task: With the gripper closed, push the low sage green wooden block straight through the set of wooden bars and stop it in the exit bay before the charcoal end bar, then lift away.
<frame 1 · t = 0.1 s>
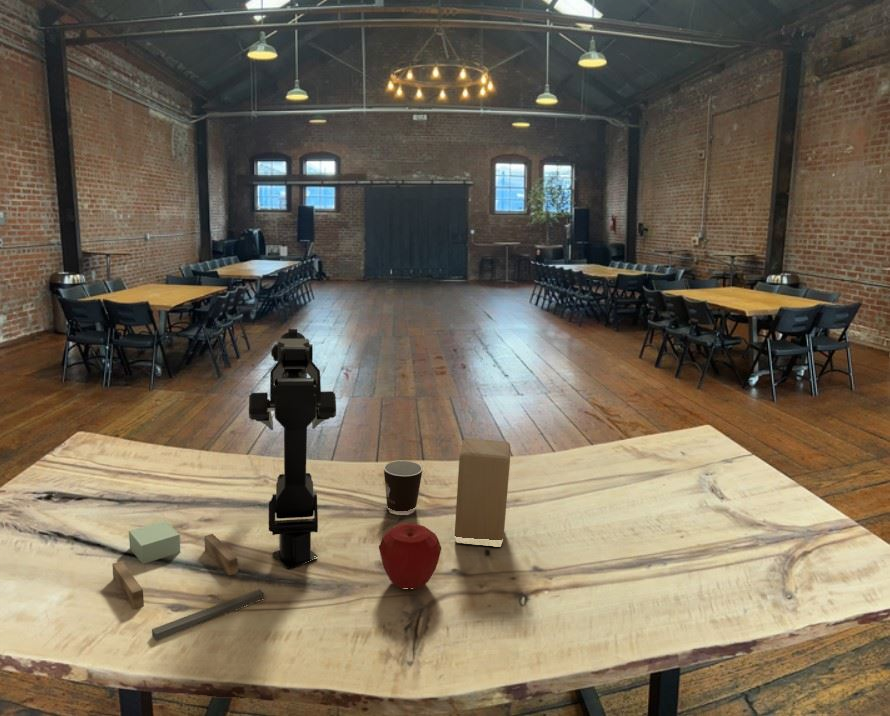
hand: (292, 427, 156), 15 cm above the table, tool tilted 35°, fingers open, 9 cm apart
set of wooden bars: (176, 575, 122), on the table
wooden block: (479, 536, 142), on the table
apple: (408, 584, 123), on the table
sage block: (155, 551, 130), on the table
coffee mug: (402, 507, 153), on the table
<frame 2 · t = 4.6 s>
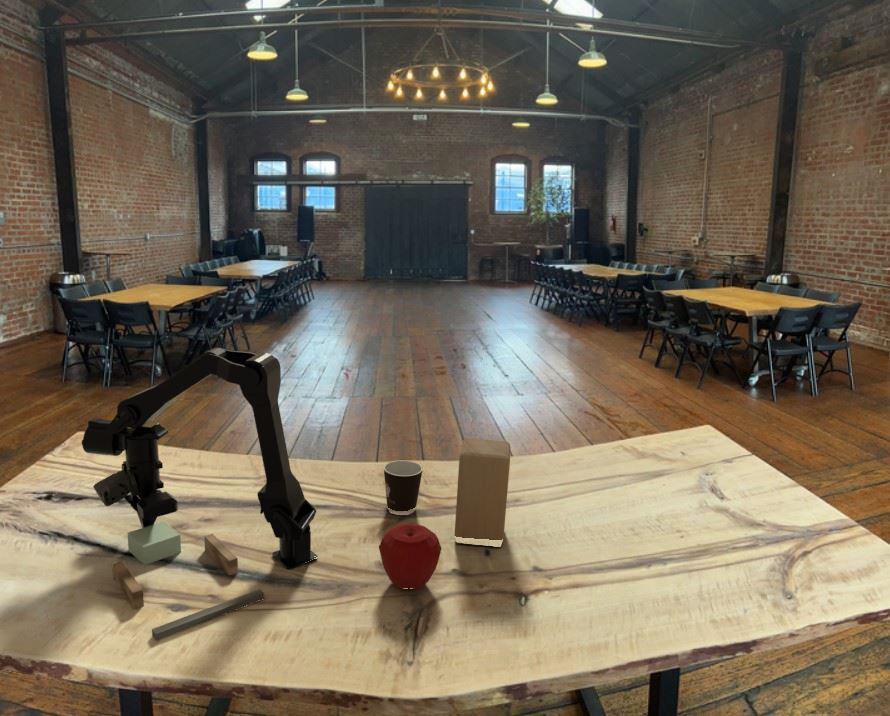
hand: (147, 531, 133), 2 cm above the table, tool pointing down, fingers closed
sage block: (154, 552, 130), on the table, touching gripper
everything else where it was.
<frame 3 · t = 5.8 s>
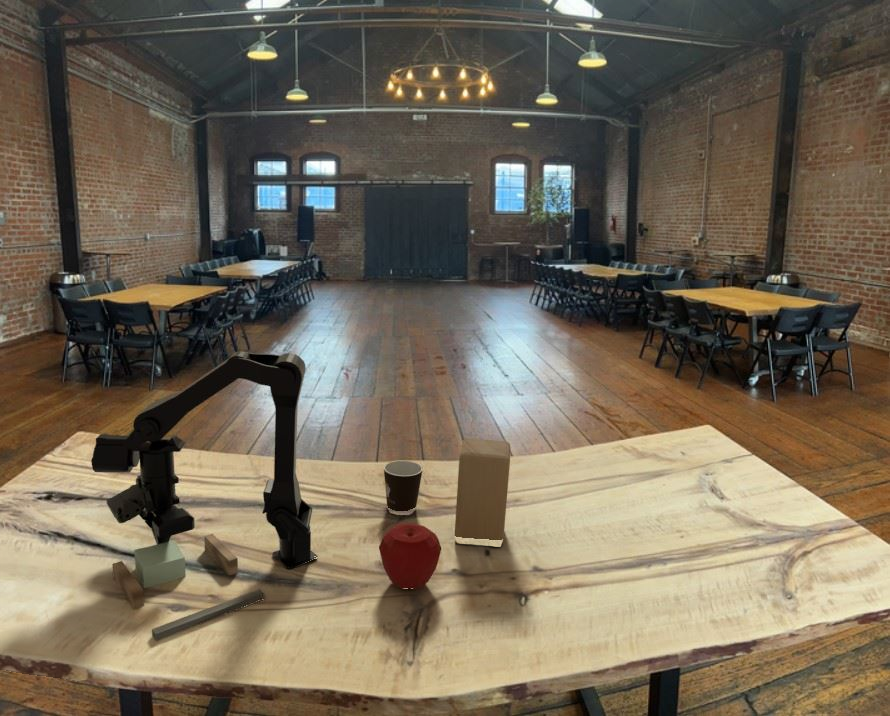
hand: (161, 548, 127), 2 cm above the table, tool pointing down, fingers closed
sage block: (160, 573, 123), on the table, touching gripper
everything else where it was.
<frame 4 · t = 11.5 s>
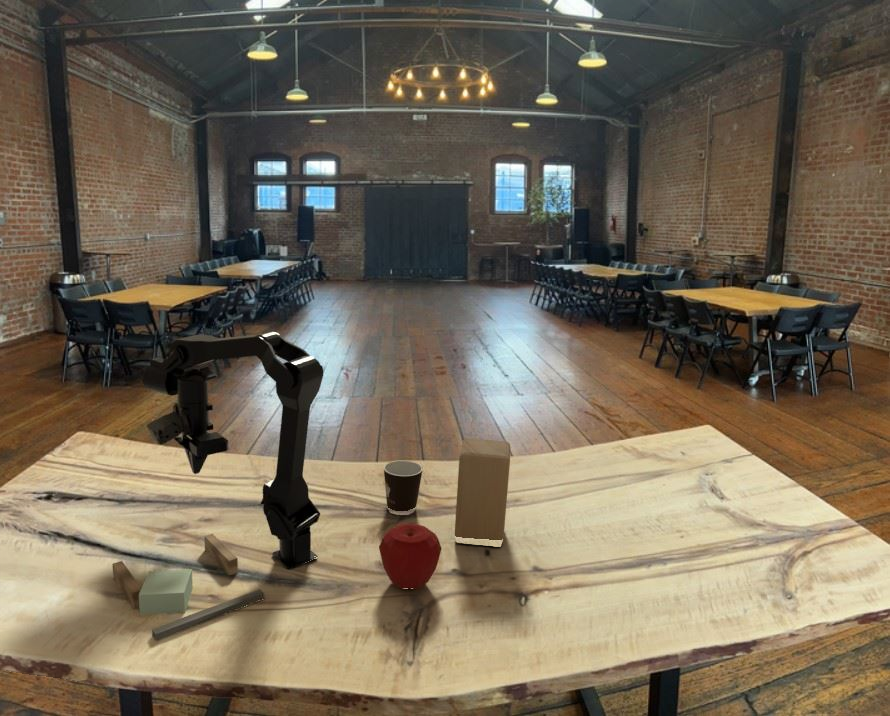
hand: (196, 473, 136), 12 cm above the table, tool pointing down, fingers closed
sage block: (167, 602, 115), on the table
everything else where it was.
at the end: sage block inside the target area (4.1 cm from its centre), on the table; sage block tilted 0°; sage block moved 18.0 cm from its start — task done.
